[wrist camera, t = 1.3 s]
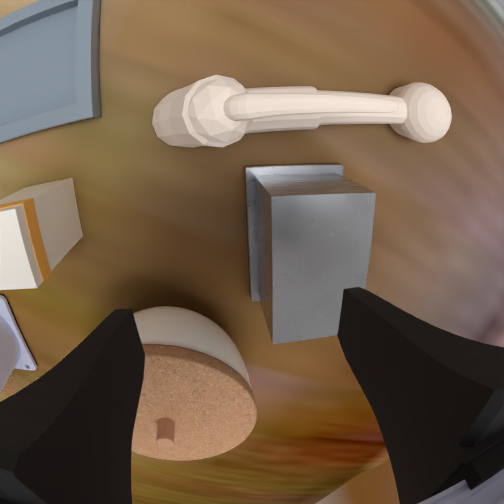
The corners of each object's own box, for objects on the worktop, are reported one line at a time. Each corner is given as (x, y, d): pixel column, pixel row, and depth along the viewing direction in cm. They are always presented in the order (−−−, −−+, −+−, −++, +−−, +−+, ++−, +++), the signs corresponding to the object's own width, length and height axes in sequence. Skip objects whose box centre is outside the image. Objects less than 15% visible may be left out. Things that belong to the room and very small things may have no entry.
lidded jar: (234, 269, 21) (252, 368, 13) (250, 378, 26) (267, 472, 17) (88, 288, 20) (38, 380, 12) (131, 390, 25) (117, 479, 16)
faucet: (377, 134, 23) (483, 151, 15) (156, 157, 17) (214, 179, 9) (375, 87, 22) (483, 90, 13) (148, 89, 15) (200, 39, 7)
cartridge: (36, 242, 18) (-16, 291, 12) (24, 186, 17) (-38, 219, 10) (83, 236, 19) (38, 288, 13) (72, 176, 17) (15, 207, 11)
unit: (250, 295, 22) (263, 352, 17) (244, 165, 19) (259, 186, 13) (331, 286, 23) (363, 336, 17) (338, 163, 19) (385, 182, 14)
